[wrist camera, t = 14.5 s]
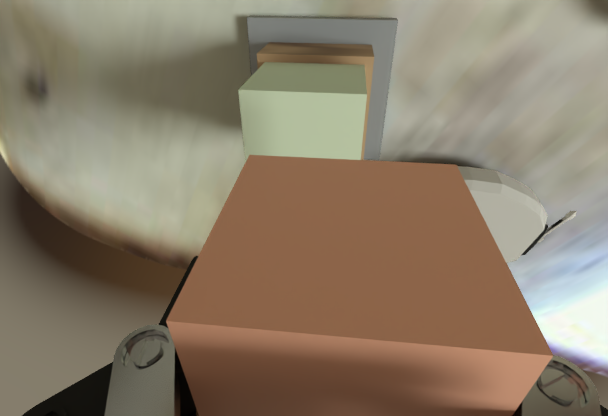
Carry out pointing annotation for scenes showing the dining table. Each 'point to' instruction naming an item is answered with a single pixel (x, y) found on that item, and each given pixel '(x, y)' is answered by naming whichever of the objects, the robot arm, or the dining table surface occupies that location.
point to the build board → (337, 32)
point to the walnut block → (323, 60)
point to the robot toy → (509, 211)
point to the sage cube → (304, 110)
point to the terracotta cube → (354, 297)
